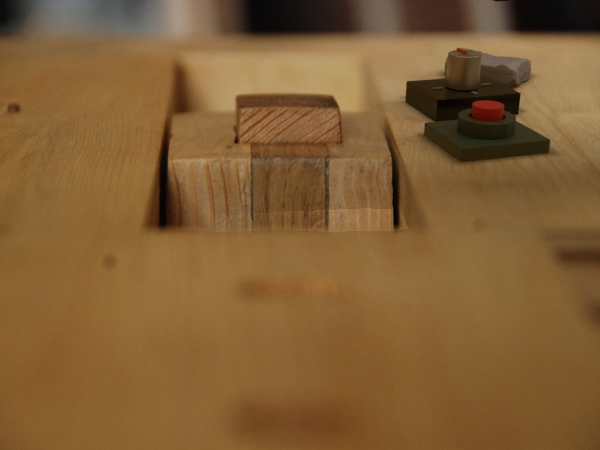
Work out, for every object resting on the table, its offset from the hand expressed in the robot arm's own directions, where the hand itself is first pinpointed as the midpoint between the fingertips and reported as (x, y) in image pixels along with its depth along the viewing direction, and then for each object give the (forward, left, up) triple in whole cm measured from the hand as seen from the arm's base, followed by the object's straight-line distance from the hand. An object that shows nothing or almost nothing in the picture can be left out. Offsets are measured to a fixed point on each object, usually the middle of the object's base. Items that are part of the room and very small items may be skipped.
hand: (498, 0), depth 89 cm
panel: (-5, -16, -17) cm, 24 cm away
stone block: (-17, -30, -17) cm, 38 cm away
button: (0, 0, -14) cm, 14 cm away
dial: (-5, -16, -14) cm, 22 cm away
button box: (0, 0, -17) cm, 17 cm away
